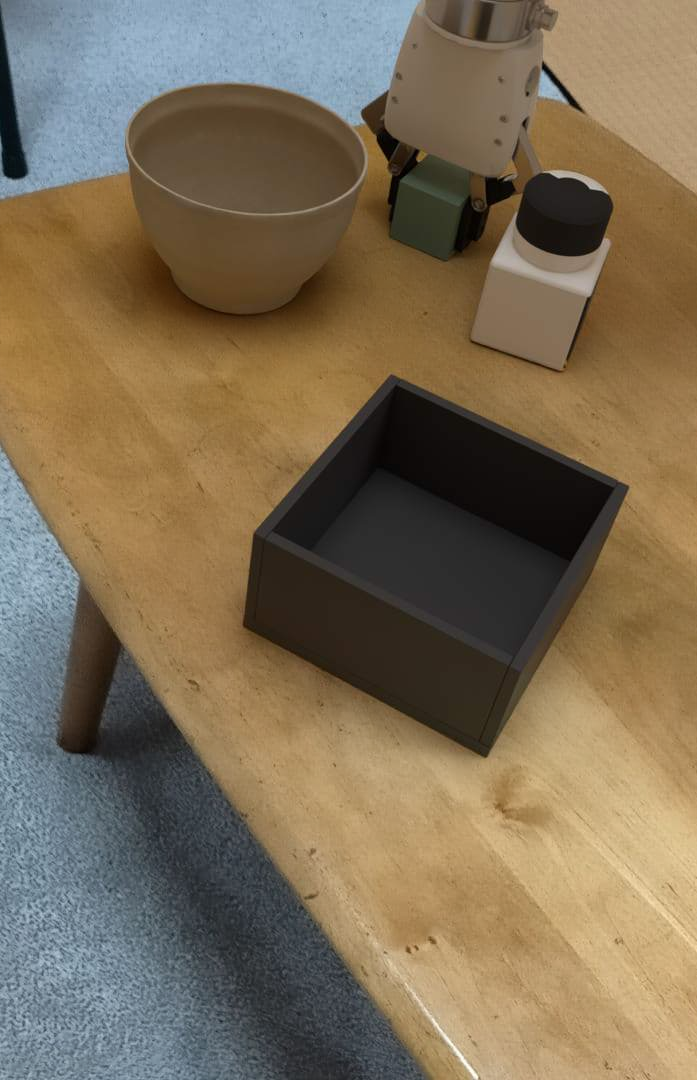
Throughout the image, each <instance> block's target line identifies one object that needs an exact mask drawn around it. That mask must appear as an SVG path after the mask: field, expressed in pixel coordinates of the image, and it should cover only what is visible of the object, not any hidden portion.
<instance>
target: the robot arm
mask: <svg viewBox="0 0 697 1080" xmlns="http://www.w3.org/2000/svg"><path fill="white" fill-rule="evenodd" d="M545 2H546V0H420V1H419V2H417V4H416V5H415V8H414V10H413V13H412V14H411V18H410V20H409V23H408V24H407V28H406V31H405V33H404V36H403V39H402V43H401V46H400V49H399V51H398V55H397V58H396V61H395V65H394V69H393V72H392V76H391V80H390V84H389V88H388V89H386V90H385V91H384V92H383V93H382V94H380V95H378V96H377V97H376V98H374V99H373V100H371V101H370V102H369V103H367V104H366V106H364V107H363V108H362V109H361V110H360V116H361V118H362V120H363V122H364V123H365V125H367V127H368V129H369V130H370V132H371V133H372V135H375V137H376V138H375V140H376V143H377V145H378V147H379V148H380V151H381V153H382V154H383V155H384V157H385V159H386V161H387V162H388V163H387V165H386V168H387V171H388V173H389V174H390V175H391V179H390V184H389V191H388V196H387V205H390V211H389V216H388V222H389V223H391V224H392V221H393V215H394V210H395V204H396V199H397V194H398V188H399V183H400V180H401V179H402V178H404V177H405V176H406V175H407V174H408V173H409V172H410V171H411V170H412V169H413V168H414V167H415V166H416V165H417V164H418V163H419V162H420V161H418V159H417V158H418V157H419V155H420V153H421V152H424V153H426V155H428V154H430V155H432V156H434V157H437V158H439V159H442V160H444V161H446V162H449V163H451V164H454V165H456V166H458V167H461V168H463V169H466V170H468V171H469V177H470V194H471V198H470V201H469V202H468V203H467V204H466V206H465V207H464V208H463V211H462V215H461V219H460V223H459V228H458V232H457V236H456V241H455V245H454V248H455V252H457V253H459V254H463V252H464V251H466V249H467V248H468V247H469V246H470V245H471V244H472V243H473V242H475V243H478V242H479V241H480V240H481V239H482V237H483V235H484V233H485V230H486V226H487V222H488V219H489V214H490V211H491V207H492V206H494V205H497V204H498V203H501V202H503V201H506V200H508V199H510V198H511V197H513V196H516V195H517V196H519V195H523V191H524V188H525V185H526V183H527V182H528V181H529V180H530V179H531V178H532V177H534V176H536V175H537V174H539V173H542V172H544V171H543V169H542V166H541V164H540V162H539V160H538V156H537V154H536V152H535V149H534V147H533V144H532V142H531V140H530V137H531V133H532V129H533V125H534V120H535V115H536V110H537V109H536V108H537V104H538V97H539V92H540V86H541V85H540V83H541V76H542V67H543V58H544V32H543V31H542V30H544V31H547V32H552V31H553V30H554V27H555V26H556V23H557V20H558V18H559V17H558V16H559V11H558V10H556V9H553V8H550V6H549V4H547V3H545ZM511 160H512V163H513V165H514V168H515V169H516V173H509V174H507V175H504V174H505V172H506V171H507V168H508V165H509V163H510V162H511ZM503 175H504V176H503Z"/></svg>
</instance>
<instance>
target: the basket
mask: <svg viewBox="0 0 697 1080" xmlns="http://www.w3.org/2000/svg"><path fill="white" fill-rule="evenodd" d="M629 489H630V486H629V485H628V484H627V483H624V482H622V481H619V480H618V479H616V478H613V476H612V477H611V476H610V475H608V474H606V473H603V472H601V471H599V470H597V469H595V468H592V467H590V466H588V465H587V464H584V463H582V462H581V461H577V460H576V459H573V458H572V457H569V456H567V455H566V454H563V453H561V452H559V451H557V450H554V449H553V448H550V447H548V446H546V445H544V444H542V443H540V442H538V441H536V440H533V439H531V438H529V437H527V436H524V435H522V434H521V433H518V432H516V431H514V430H512V429H511V428H508V427H506V426H503V425H501V424H500V423H497V422H495V421H493V420H491V419H488V418H486V417H485V416H482V415H480V414H478V413H476V412H473V411H472V410H469V409H467V408H465V407H463V406H461V405H459V404H457V403H454V402H453V401H451V400H448V399H446V398H444V397H442V396H441V395H437V394H435V393H433V392H431V391H429V390H427V389H425V388H423V387H420V386H418V385H416V384H414V383H412V382H410V381H408V380H406V379H404V378H400V377H399V376H397V375H394V374H392V373H391V374H389V375H388V377H387V378H386V379H385V380H384V381H383V383H382V384H381V385H380V386H379V387H378V389H376V390H375V392H374V393H373V394H372V396H371V397H369V399H368V400H367V401H366V402H365V403H364V405H362V407H361V408H360V409H359V410H358V412H357V413H356V414H355V415H354V416H353V417H352V418H351V420H349V422H348V423H347V424H346V426H345V427H344V428H343V429H342V430H341V431H340V432H339V433H338V434H337V436H336V437H335V438H334V439H333V440H332V441H331V443H330V444H329V445H328V446H327V447H326V448H325V450H324V451H323V452H322V453H321V454H320V455H319V457H317V459H316V460H315V461H314V462H313V463H312V465H310V467H309V468H308V469H307V470H306V471H305V473H304V474H303V475H302V476H301V477H300V478H299V479H298V481H297V482H296V483H295V484H294V485H293V487H292V488H291V489H290V490H289V491H288V492H287V494H285V496H284V497H283V498H282V499H281V500H280V501H279V503H278V504H277V505H276V506H275V507H274V508H273V509H272V511H271V512H270V513H269V514H268V515H267V516H266V518H265V519H264V520H263V521H262V522H261V523H260V524H259V526H258V527H257V528H256V529H255V530H254V531H253V533H252V542H251V551H250V560H249V569H248V576H247V577H248V578H247V587H246V596H245V597H246V598H245V604H244V614H243V621H242V626H243V627H244V628H246V629H248V630H250V631H252V632H254V633H255V634H257V635H259V636H261V637H262V638H265V639H266V640H268V641H270V642H272V643H274V644H276V645H278V646H279V647H281V648H283V649H285V650H287V651H289V652H290V653H292V654H294V655H296V656H297V657H300V658H301V659H303V660H305V661H307V662H309V663H311V664H312V665H315V666H316V667H317V668H320V669H322V670H323V671H326V672H327V673H329V674H331V675H333V676H335V677H336V678H338V679H340V680H342V681H344V682H345V683H347V684H350V685H351V686H353V687H355V688H356V689H359V690H360V691H362V692H364V693H366V694H367V695H370V696H371V697H373V698H375V699H377V700H379V701H380V702H383V703H385V704H386V705H389V706H390V707H391V708H393V709H396V710H397V711H399V712H401V713H402V714H405V715H407V716H408V717H410V718H412V719H414V720H416V721H417V722H419V723H421V724H423V725H424V726H427V727H429V728H430V729H432V730H435V731H436V732H437V733H439V734H441V735H443V736H445V737H447V738H449V739H450V740H452V741H454V742H456V743H458V744H460V745H462V746H463V747H466V748H467V749H469V750H471V751H473V752H474V753H477V754H479V755H480V756H482V757H484V758H488V756H489V754H490V753H491V751H492V750H493V748H494V746H495V744H496V743H497V740H498V739H499V737H500V735H501V734H502V732H503V730H504V728H505V727H506V725H507V723H508V721H509V720H510V718H511V716H512V714H513V713H514V711H515V709H516V707H517V705H518V704H519V702H520V700H521V698H522V697H523V695H524V693H525V691H526V689H528V687H529V685H530V683H531V681H532V679H533V677H534V675H535V674H536V673H537V670H538V669H539V667H540V666H541V663H542V662H543V660H544V658H545V657H546V655H547V653H548V651H549V649H550V647H551V646H552V644H553V642H554V641H555V639H556V637H557V635H558V634H559V632H560V630H561V628H562V627H563V625H564V623H565V622H566V620H567V618H568V616H569V614H570V613H571V611H572V609H573V607H574V606H575V604H576V603H577V601H578V599H579V597H580V595H581V594H582V592H583V590H584V589H585V587H586V584H587V583H588V581H589V579H590V578H591V575H592V573H593V571H594V569H595V567H596V564H597V562H598V561H599V557H600V555H601V553H602V551H603V549H604V546H605V544H606V542H607V540H608V538H609V535H610V533H611V530H612V528H613V526H614V523H615V521H616V519H617V518H618V517H617V516H618V514H619V512H620V510H621V507H622V505H623V503H624V501H625V498H626V496H627V494H628V491H629Z"/></svg>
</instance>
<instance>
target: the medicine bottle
mask: <svg viewBox="0 0 697 1080" xmlns="http://www.w3.org/2000/svg"><path fill="white" fill-rule="evenodd" d="M521 195H522V196H521V199H520V202H519V207H518V210H517V211H516V212H515V213H514V214H513V216H512V218H511V220H510V222H509V224H508V226H507V229H506V230H505V232H504V234H503V236H502V239H501V240H500V242H499V244H498V246H497V248H496V250H495V251H494V254H493V256H492V258H491V259H490V262H489V266H488V269H487V273H486V277H485V281H484V285H483V289H482V292H481V297H480V300H479V303H478V307H477V311H476V315H475V319H474V321H473V326H472V330H471V334H470V340H471V341H472V342H474V343H477V344H480V345H482V346H486V347H488V348H491V349H494V350H497V351H500V352H503V353H506V354H509V355H512V356H515V357H517V358H521V359H523V360H527V361H529V362H533V363H536V364H537V365H542V366H544V367H547V368H550V369H553V370H556V371H560V372H563V371H565V369H566V368H567V366H568V363H569V361H570V359H571V356H572V353H573V351H574V349H575V346H576V343H577V341H578V338H579V336H580V332H581V331H582V327H583V325H584V323H585V320H586V318H587V315H588V312H589V308H590V306H591V303H592V300H593V298H594V295H595V292H596V289H597V286H598V283H599V280H600V277H601V274H602V271H603V268H604V266H605V263H606V260H607V257H608V256H609V255H608V254H609V252H610V249H611V245H612V241H611V240H610V239H609V238H607V237H605V235H606V232H607V229H608V226H609V224H610V223H609V222H610V220H611V217H612V215H613V211H614V202H613V200H612V197H611V196H610V194H609V192H608V191H607V190H606V188H605V187H604V186H603V185H602V184H600V183H599V182H598V181H596V180H594V179H593V178H591V177H590V176H586V175H584V174H581V173H579V172H575V171H571V170H570V171H569V170H563V169H554V170H553V169H551V170H545V171H543V172H542V173H539V174H537V175H536V176H534V177H532V178H531V179H530V180H529V181H528V182H527V183H526V185H525V188H524V191H523V193H522V194H521Z"/></svg>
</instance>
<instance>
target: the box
mask: <svg viewBox="0 0 697 1080" xmlns="http://www.w3.org/2000/svg"><path fill="white" fill-rule="evenodd" d="M418 162H419V163H418V164H417V165H416V166H415V167H414V168H413V169H412V170H411V171H410V172H409V173H408V174H407V175H406V176H405V177H404V178H402V179H401V180H400V183H399V188H398V194H397V199H396V204H395V210H394V215H393V221H392V223H391V225H390V226H391V227H390V232H389V238H392V239H393V240H396V241H399V242H401V243H404V244H406V245H407V246H410V247H411V248H414V249H417V250H419V251H421V252H424V253H426V254H428V255H431V256H432V257H435V258H437V259H439V260H442V261H444V262H447V261H448V260H449V259H450V258H451V257H452V256H453V255H454V253H456V251H455V248H454V245H455V241H456V236H457V232H458V228H459V223H460V219H461V215H462V211H463V208H464V207H465V206H466V204H467V203H468V202H469V201H470V198H471V194H470V177H469V171H468V170H466V169H463V168H461V167H458V166H456V165H454V164H451V163H449V162H446V161H444V160H442V159H439V158H437V157H434V156H432V155H430V154H426V155H425V156H424V157H423V158H422V159H421V160H419V161H418Z"/></svg>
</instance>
